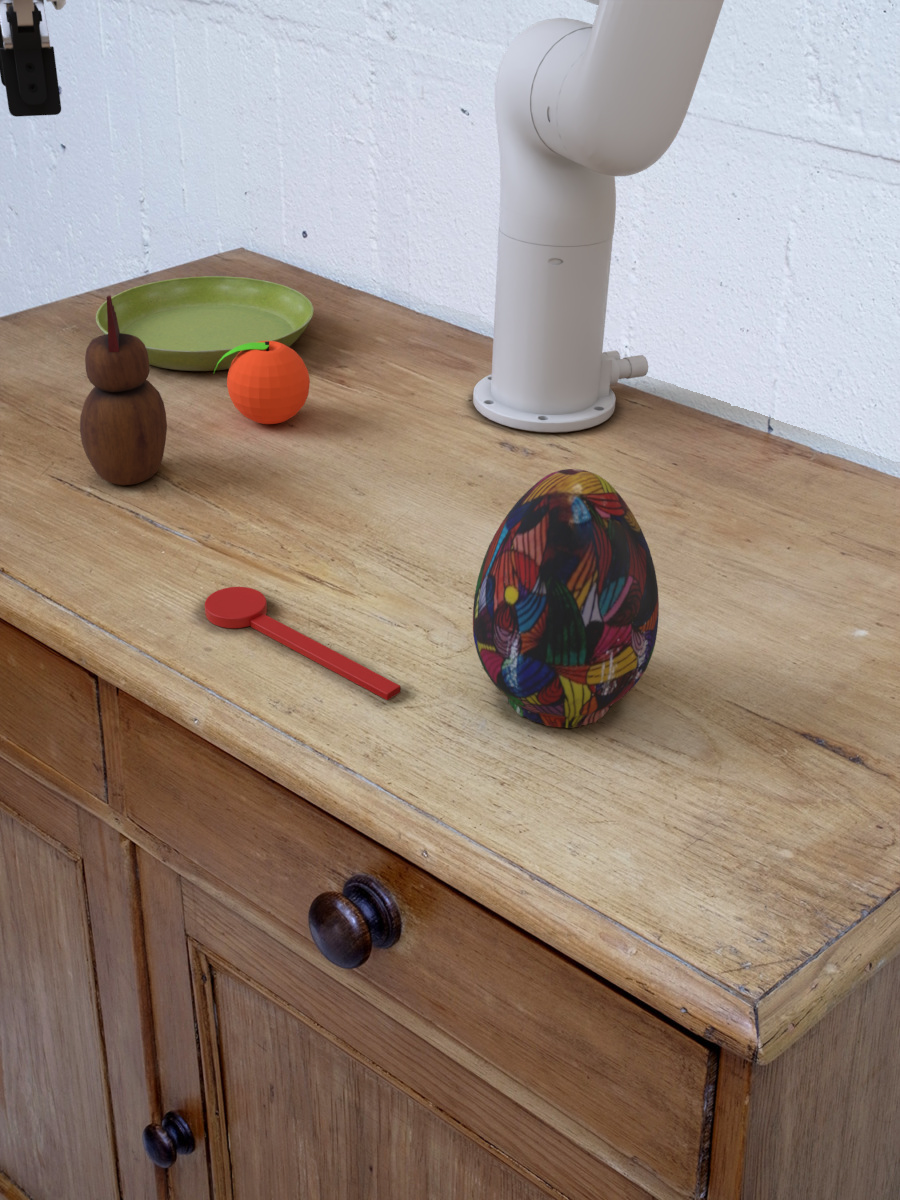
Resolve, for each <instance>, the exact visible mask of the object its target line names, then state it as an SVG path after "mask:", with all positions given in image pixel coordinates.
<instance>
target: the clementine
mask: <svg viewBox="0 0 900 1200" xmlns="http://www.w3.org/2000/svg"><path fill="white" fill-rule="evenodd" d="M238 351H240V352H239V353H238V354H237V356H236V357H235V358H234V360H233V361H232V363H231V366H230V369H228V372H227V379H226V386H227V391H228V396H229V399H230V400H231V402H232V404H233V405H234V407H235V409H236V410H237V411H238V412H239V413H241V415H243V416H244V417H245V418H247V419H249V420H250V421H253V422H255V423H258V424H263V425H277V424H281V423H285V422H286V421H288V420H290V419H292V418H293V417H294V416H296V415H297V414H298V413H299V411H300V410H301V409H302V408H303V407H304V405H306V402H307V399H308V397H309V392H310V386H311V385H310V383H311V380H310V379H311V378H310V374H309V370H308V368H307V366H306V364H305V362H304V360H303V358H302V357H301V356H300V355H299V354H298V353H297V351H296V350H294V349H293V348H291V347H290V346H289V347H288V346H286V345H284V344H282V343H280V342H276V341H260V342H255V343H247V344H243V345H240V346H237V347H235V348H234V349H232V350H230V351H229V352H227V353H226V354H224V355H223V357H222V358H221V359H220V360H219V361H218V363H217V366H218V364H219V363H220V362H221V361H222V360H223V359H224V358H225V357H227V356H229V355H230V354H233V353H235V352H238ZM217 366H216V368H217ZM216 368H215V370H216ZM216 371H217V370H216ZM216 371H213V375H214V374H215V372H216Z"/></svg>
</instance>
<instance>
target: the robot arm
mask: <svg viewBox="0 0 900 1200" xmlns="http://www.w3.org/2000/svg"><path fill="white" fill-rule="evenodd" d="M584 1H585V2H587V3H589V4H592V5H595V6H597V8H596V13H595V17H594V20H593V24H592V23H589V22H586V21H582V20H579V19H575V18H574V19H573V18H567V17H556V18H548V19H543V20H540V21H537V22H534V23H533V24H531V25H529V26H527V27H526V28H524V29H523V30H522V31H521V32H520V33H518V34H517V35H516V36H515V37H514V38H513V39H512V41H511V42H510V43H509V44H508V46H507V48H506V49H505V51H504V53H503V55H502V57H501V60H500V62H499V65H498V67H497V72H496V78H495V83H494V114H495V124H496V133H497V141H498V143H497V144H498V153H499V167H500V168H499V171H500V176H499V177H500V183H499V185H500V186H499V187H500V189H499V191H500V192H499V215H498V217H499V219H498V220H499V221H498V229H497V233H498V235H497V252H496V253H497V254H496V274H495V295H494V299H495V300H494V318H493V335H492V336H493V337H492V356H491V357H492V358H491V359H492V360H491V361H492V362H491V374H488V375H486V376H485V377H483V378H482V379H480V380H479V381H477V383H476V384H475V386H474V387H473V394H472V395H473V396H472V403H473V405H474V407H475V409H476V410H477V412H479V413H480V414H481V415H482V416H483V417H484V418H487V419H488V420H490V421H492V422H494V423H497V424H499V425H500V426H505V427H508V428H511V429H516V430H522V431H527V432H533V433H554V434H555V433H568V432H569V433H570V432H579V431H582V430H586V429H591V428H594V427H597V426H599V425H601V424H603V423H604V422H606V421H607V420H609V419H610V418H611V417H612V416H613V414H614V412H615V409H616V394H615V392H614V391H613V390H612V388H611V386H612V385H616V384H617V383H618V382H619V380H623V379H627V380H630V379H635V378H641V377H646V376H647V374H648V372H649V363H648V359H647V357H646V356H644V355H643V354H639V355H638V354H637V355H633V356H626V357H625V356H624V357H623V358H621V354H620V352H619V351H618V350H609V351H603V349H604V338H605V328H606V327H605V326H606V315H607V305H608V295H609V294H608V293H609V285H610V284H609V283H610V273H611V272H610V271H611V263H612V262H611V261H612V250H613V241H614V233H615V224H616V223H615V222H616V212H617V211H616V209H617V190H616V188H617V187H616V177H628V176H629V177H630V176H633V175H636V174H640V173H641V172H643V171H645V170H647V169H649V168H650V167H652V166H653V165H654V164H656V163H657V162H658V161H659V160H660V159H661V158H662V157H663V155H664V154H666V153H667V151H668V150H669V148H671V145H672V144H673V143H674V141H675V139H676V138H677V135H678V134H679V131H680V129H681V128H682V125H683V123H684V121H685V118H686V116H687V113H688V110H689V108H690V104H691V101H692V99H693V96H694V93H695V90H696V87H697V84H698V81H699V78H700V75H701V72H702V68H703V66H704V63H705V60H706V56H707V54H708V50H709V48H710V45H711V41H712V39H713V36H714V32H715V29H716V27H717V24H718V20H719V18H720V14H721V11H722V8H723V5H724V2H725V0H584ZM46 2H51V4H52V5H53V7H54V9H55V10H56V11H60V10H62V9H63V8H64V7H65V6H66V4H67V0H46ZM46 15H47V14H46V10H45V0H0V81H1V84H2V86H3V87H5V92H6V99H7V105H8V107H7V108H8V111H9V114H10V115H11V116H13V117H18V118H19V117H38V116H39V117H40V116H41V117H42V116H57V115H60V113H61V112H62V102H61V95H60V87H59V86H60V85H59V78H58V70H57V63H56V55H55V47H54V46H51V41H50V33H49V28H48V22H47V21H48V20H47V16H46Z"/></svg>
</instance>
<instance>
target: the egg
mask: <svg viewBox="0 0 900 1200" xmlns="http://www.w3.org/2000/svg"><path fill="white" fill-rule="evenodd" d="M653 560H654V559H653V556H652V554H651V550H650V546H649V545H648V542H647V539H646V537H645V535H644V532H643V530H642V528H641V526H640V524H639V522H638V520H637V518H636V517H635V515H634V513H633V512H632V510H631V509H630V507H629V505H628V504H627V503H626V501H625V500H624V499H623V497H622V496H621V495H620V494H619V492H618V491H617V490H616V488H615V487H613V486H612V484H611V483H610V482H609V481H608V480H606V479H605V478H603V477H602V476H601V475H598V474H596V473H595V472H593V471H592V472H591V471H589V470H584V469H580V468H579V469H578V468H567V469H566V468H565V469H560V470H556V471H554V472H551V473H549V474H547V475H546V476H544V477H542V478H541V479H540V480H538V481H537V482H536V483H535V484H533V486H531V487H530V488H529V489H528V490H527V491H526V492H525V493H524V494H523V495H522V496H521V497H520V498H519V499H518V501H516V503H515V504H514V505H513V506H512V507H511V509H510V510H509V512H507V514H506V516H505V517H504V518H503V520H502V522H501V523H500V525H499V526H498V528H497V530H496V532H495V534H494V535H493V538H492V539H491V541H490V543H489V545H488V546H487V550H486V552H485V554H484V557H483V560H482V562H481V566H480V569H479V573H478V577H477V580H476V586H475V590H474V597H473V598H474V599H473V607H472V608H473V609H472V634H473V635H472V636H473V641H474V646H475V649H476V654H477V656H478V659H479V662H480V664H481V666H482V668H483V670H484V672H485V674H486V675H487V677H488V678H489V680H490V681H491V682H492V683H493V685H494V686H495V687H496V688H497V689H498V690H499V691H500V692H501V693H502V694H503V695H504V696H505V697H506V699H507V701H508V704H509V705H510V706H511V708H512V709H513V710H514V711H515V713H516V714H517V715H518V716H519V717H521V718H522V717H525V718H526V719H528V720H529V721H530V722H536V723H538V724H543V726H547V727H552V728H556V727H558V728H561V729H563V728H565V729H570V728H571V729H574V728H581V727H582V726H587V725H588V724H596V722H597V721H598V720H600V719H602V718H604V716H605V715H606V713H607V714H608V712H609V710H610V709H611V707H612V706H613V704H616V703H617V702H619V701H620V700H621V699H622V698H624V697H625V696H627V694H628V693H629V692H630V691H632V689H634V687H635V686H636V685H637V683H638V682H639V681H640V680H641V678H642V676H643V675H644V674H645V672H646V670H647V668H648V666H649V664H650V662H651V659H652V656H653V653H654V650H655V647H656V641H657V636H658V630H659V629H658V628H659V617H660V616H659V613H660V611H659V610H660V601H659V587H658V580H657V579H658V578H657V574H656V573H657V572H656V569H655V564H654V561H653Z"/></svg>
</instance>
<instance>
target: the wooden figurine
mask: <svg viewBox="0 0 900 1200" xmlns="http://www.w3.org/2000/svg"><path fill="white" fill-rule="evenodd" d="M111 297H112V296H111V295H107V296H106V301H107V320H108V334H101V335H99V336H96V337H95V338H92V339H91V341H90V342H89V344H88V345H87V347H86V351H85V355H84V357H85V358H84V363H85V372H86V373H85V374H86V377H87V379H88V380H89V383H90V384H91V385H93V388H91V390H90V391H89V393H88V394H87V396H86V398H85V400H84V402H83V406H82V410H81V413H80V417H79V420H80V421H79V433H80V441H81V445H82V448H83V450H84V454H85V456H86V457H87V459H88V461H89V463H90V465H91V466H92V468H93V470H94V471H95V473H96V474H97V475H98V476H99V477H100V478H101V479H102V480H103V481H106V482H108V483H111V484H113V485H119V486H133V485H137V484H140V483H143V482H145V481H147V480H149V479H150V478H152V477H153V476H155V474H156V473H157V472H158V471H159V468H160V467H161V464H162V461H163V458H164V455H165V454H164V453H165V449H166V448H165V447H166V441H167V432H168V421H167V420H168V419H167V413H166V407H165V403H164V400H163V397H162V396H161V393H160V391H158V389H157V388H156V387H155V386H154V385H153V384H152V383H151V382H150V381H149V380H148V377H149V374H150V370H151V369H150V365H149V359H148V353H147V350H146V347H145V344H144V343H143V342H142V341H141V340H140V339H139V338H138V337H136V336H133V335H130V334H123V333H120V331H119V326H118V321H117V316H116V312H115V310H114V306H113V304H112V299H111Z"/></svg>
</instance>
